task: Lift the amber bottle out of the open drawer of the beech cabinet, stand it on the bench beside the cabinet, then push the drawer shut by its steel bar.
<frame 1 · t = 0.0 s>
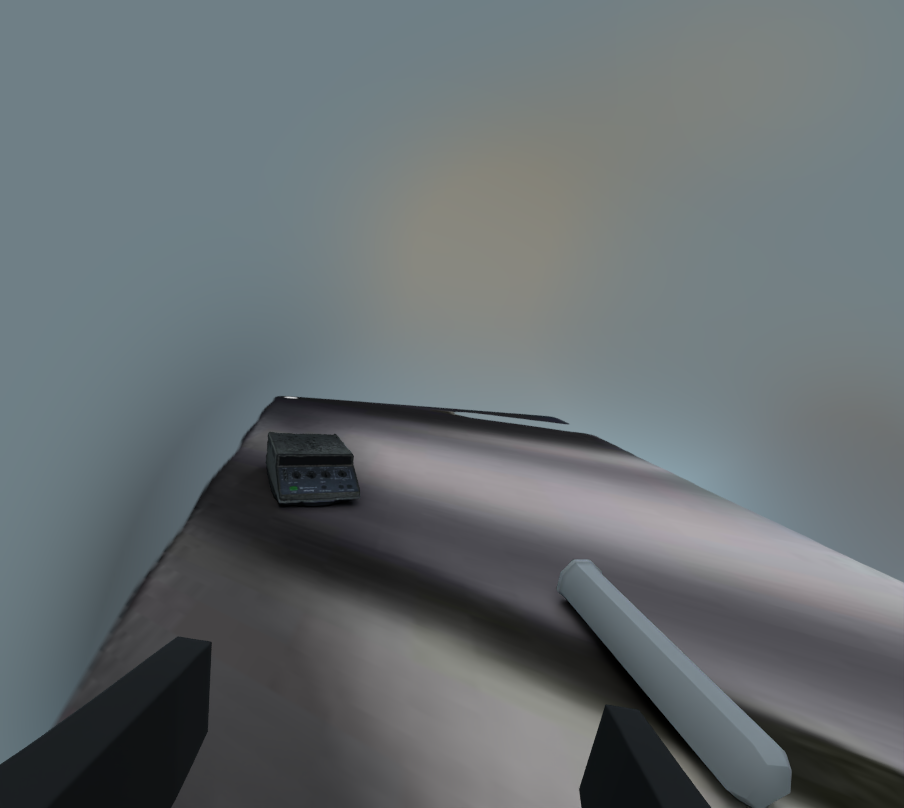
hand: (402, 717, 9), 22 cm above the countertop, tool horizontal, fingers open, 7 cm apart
tube: (644, 683, 43), on the countertop
electronic device: (309, 485, 75), on the countertop
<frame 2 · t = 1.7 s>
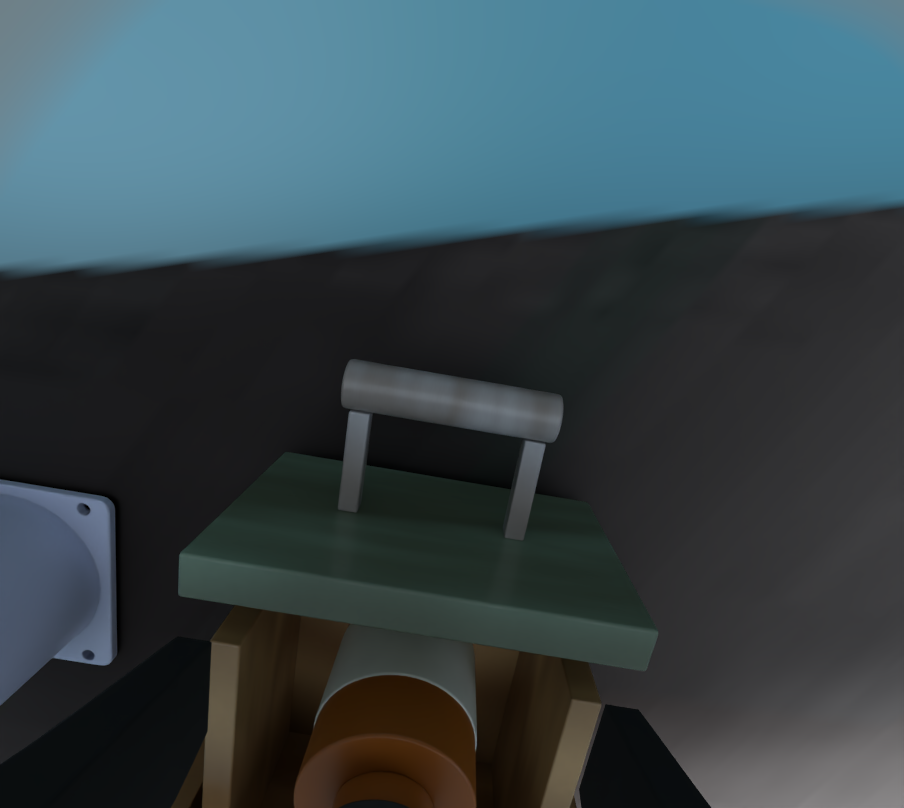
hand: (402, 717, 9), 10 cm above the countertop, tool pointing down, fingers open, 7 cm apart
cabinet: (386, 768, 22), on the countertop
bottle: (413, 614, 18), point 2 cm above the countertop, touching drawer
drawer: (412, 631, 15), point 4 cm above the countertop, slide at 7.5 cm, touching bottle
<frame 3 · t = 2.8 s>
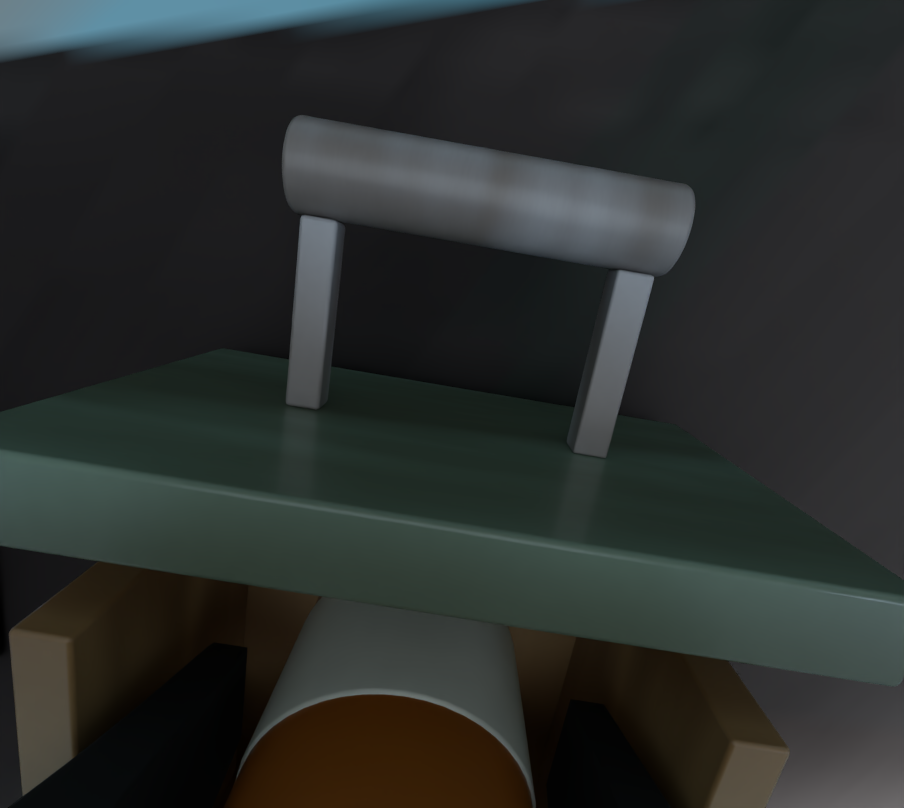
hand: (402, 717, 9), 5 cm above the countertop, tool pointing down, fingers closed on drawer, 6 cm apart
bottle: (416, 594, 12), point 2 cm above the countertop, touching drawer
drawer: (414, 617, 9), point 4 cm above the countertop, slide at 7.5 cm, touching bottle, gripper
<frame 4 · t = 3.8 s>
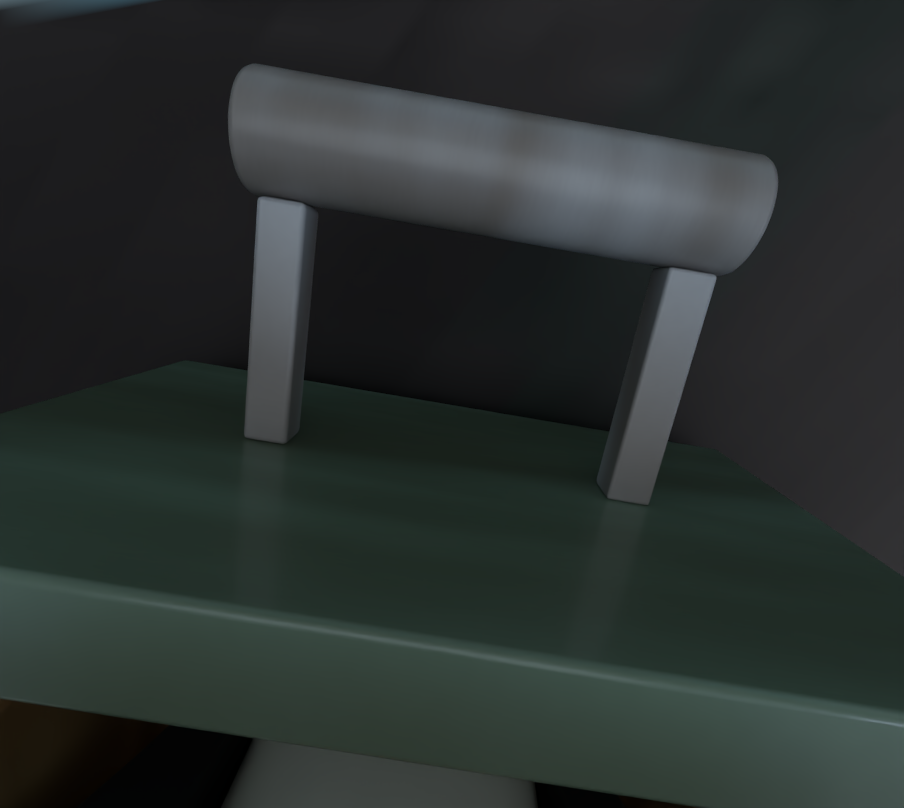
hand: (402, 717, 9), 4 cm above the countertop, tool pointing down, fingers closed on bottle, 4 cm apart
bottle: (410, 646, 10), point 2 cm above the countertop, touching drawer, gripper
drawer: (407, 691, 8), point 4 cm above the countertop, slide at 7.5 cm, touching bottle
when the fingers open (2 cm above the countertop, at t = 9.5 s): bottle stays where it is, on the countertop.
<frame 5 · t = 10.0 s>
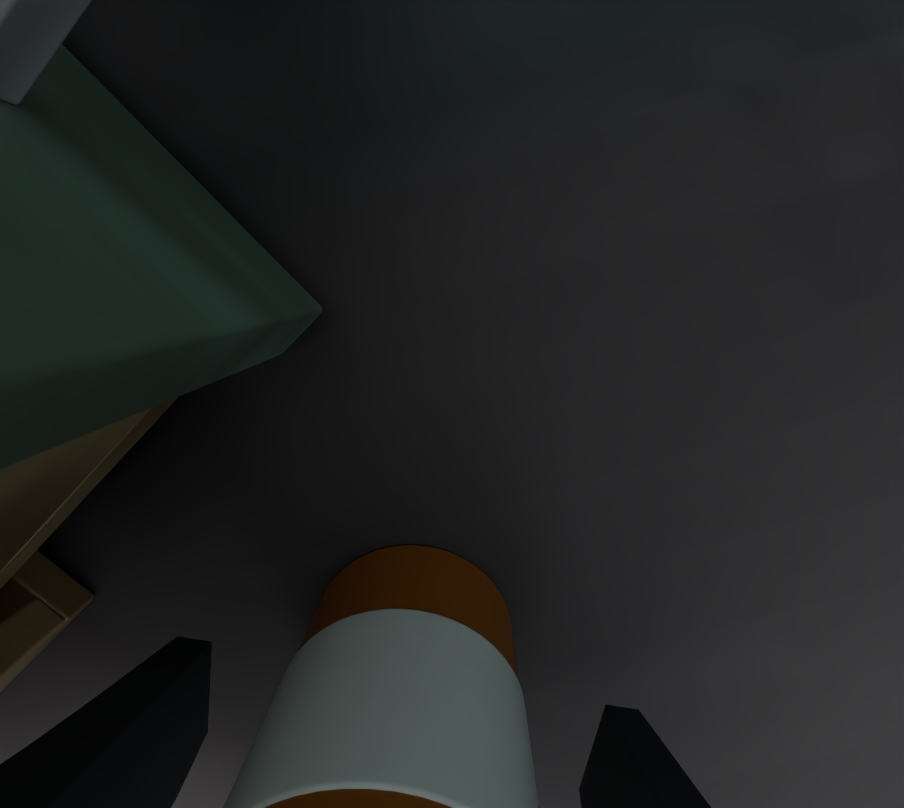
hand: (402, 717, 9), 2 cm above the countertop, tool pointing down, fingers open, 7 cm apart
bottle: (414, 630, 11), on the countertop
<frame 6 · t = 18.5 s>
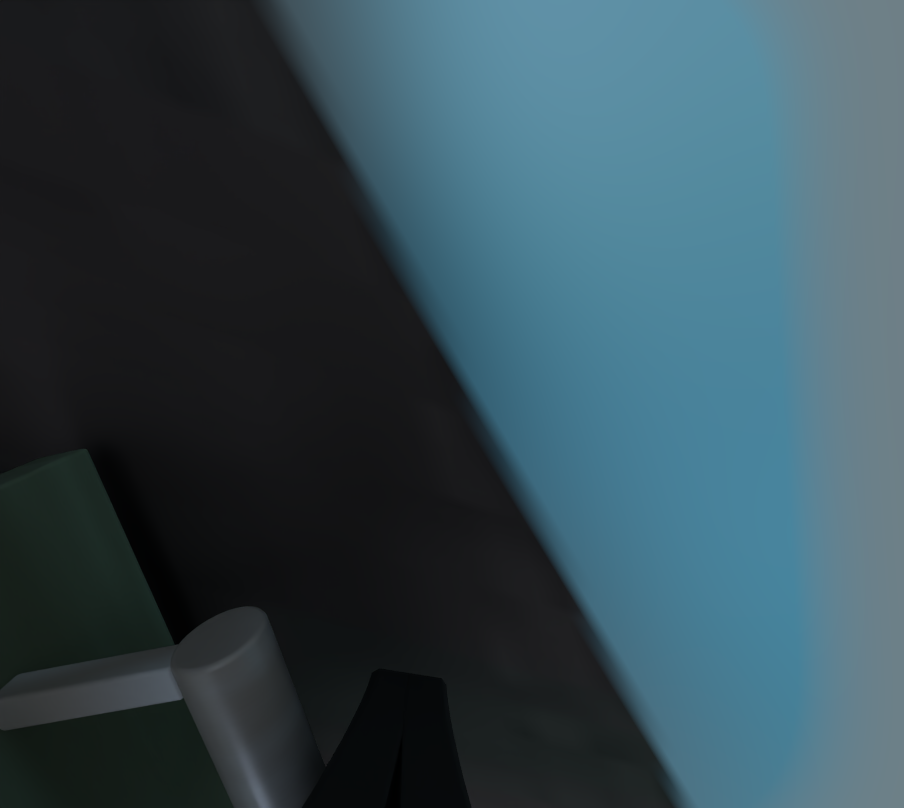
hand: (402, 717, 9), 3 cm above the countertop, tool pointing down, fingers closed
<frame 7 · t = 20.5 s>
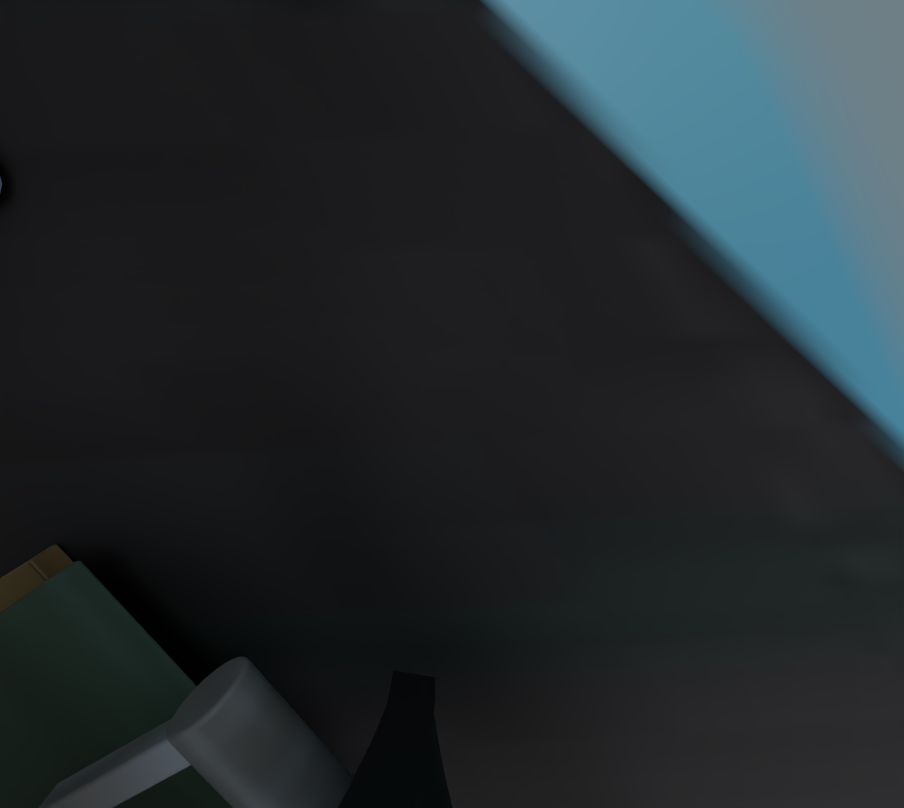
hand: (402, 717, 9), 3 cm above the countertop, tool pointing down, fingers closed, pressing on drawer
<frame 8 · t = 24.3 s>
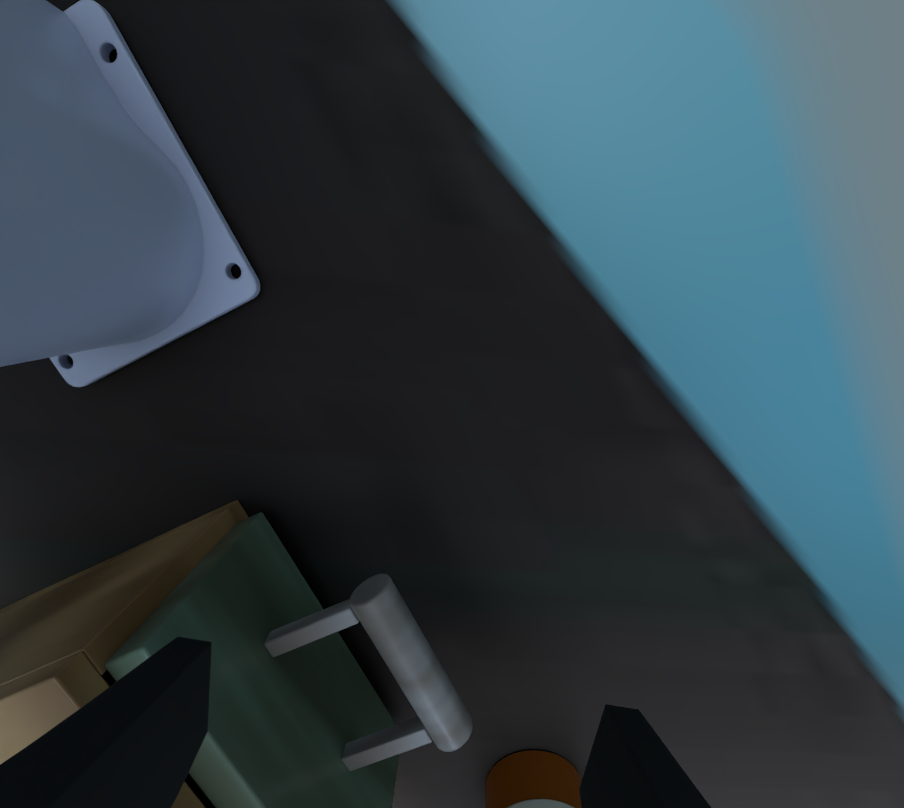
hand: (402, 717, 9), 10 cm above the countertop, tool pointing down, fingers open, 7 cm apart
cabinet: (183, 678, 21), on the countertop
bottle: (533, 786, 22), on the countertop
drawer: (208, 741, 16), point 4 cm above the countertop, slide at 0.0 cm, touching cabinet
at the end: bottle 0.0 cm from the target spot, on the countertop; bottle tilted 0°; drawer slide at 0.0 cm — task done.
